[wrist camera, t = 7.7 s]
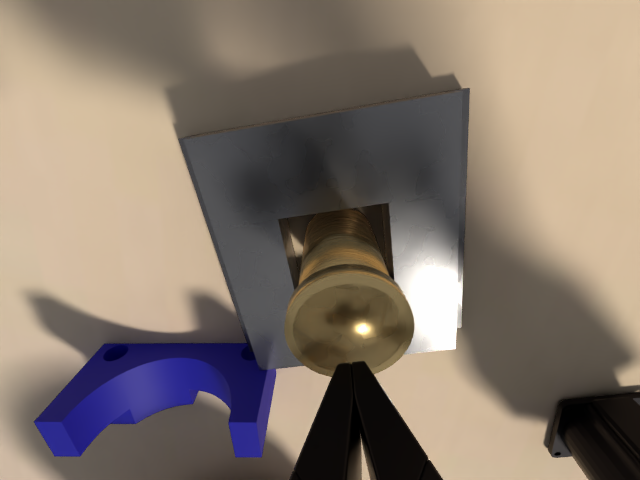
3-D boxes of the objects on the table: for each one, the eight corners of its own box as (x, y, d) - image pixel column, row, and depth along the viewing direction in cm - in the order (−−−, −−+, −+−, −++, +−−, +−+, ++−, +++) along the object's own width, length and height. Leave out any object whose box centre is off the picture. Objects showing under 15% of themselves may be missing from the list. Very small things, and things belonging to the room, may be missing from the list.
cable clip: (123, 386, 24) (64, 471, 18) (105, 341, 22) (33, 421, 17) (277, 386, 24) (264, 472, 18) (273, 341, 22) (256, 422, 16)
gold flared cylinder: (380, 266, 19) (416, 371, 12) (307, 276, 19) (297, 384, 12) (374, 195, 17) (412, 267, 10) (292, 207, 17) (271, 286, 10)
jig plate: (456, 319, 21) (472, 346, 18) (252, 343, 22) (244, 372, 19) (462, 88, 15) (487, 86, 13) (184, 137, 16) (161, 143, 14)
